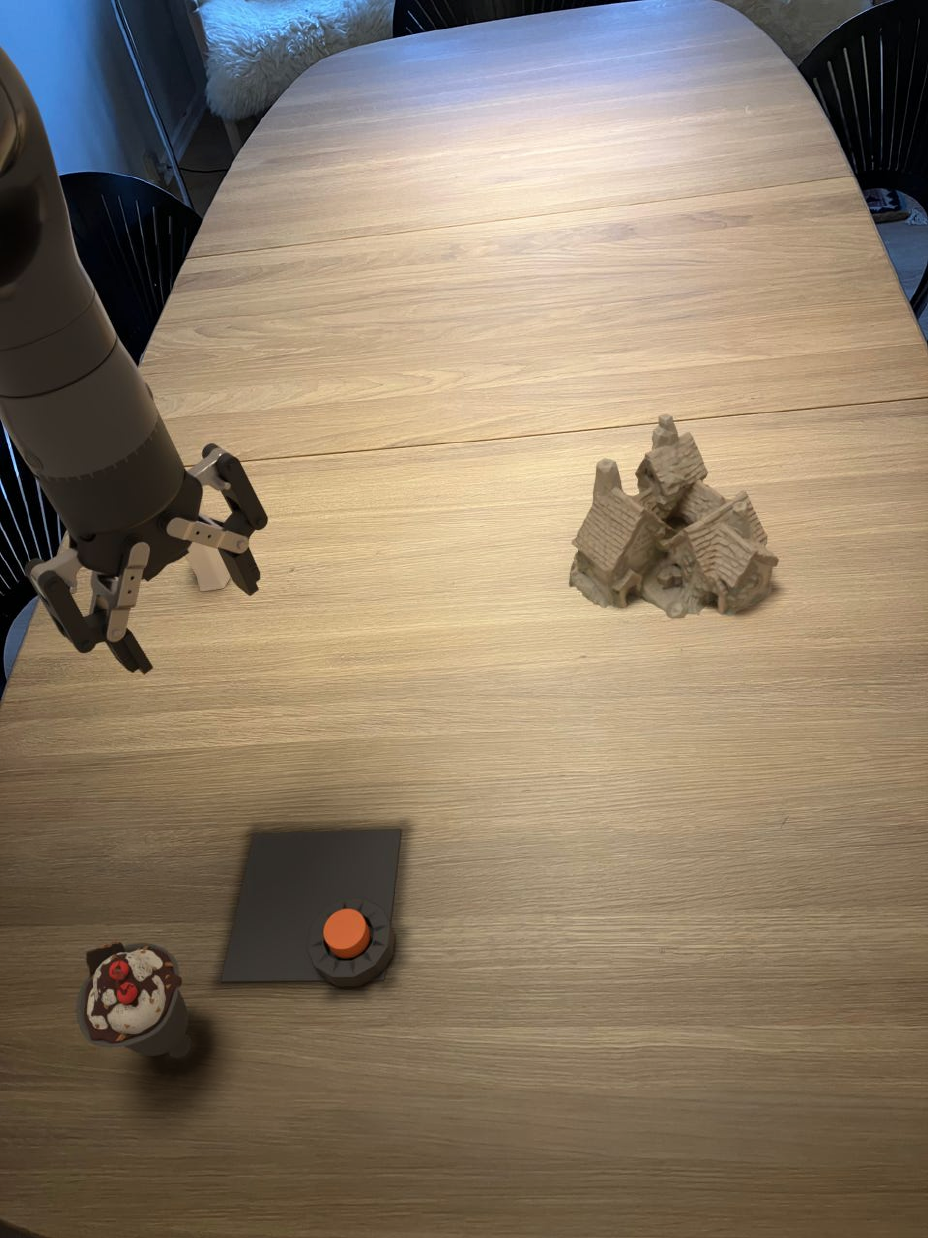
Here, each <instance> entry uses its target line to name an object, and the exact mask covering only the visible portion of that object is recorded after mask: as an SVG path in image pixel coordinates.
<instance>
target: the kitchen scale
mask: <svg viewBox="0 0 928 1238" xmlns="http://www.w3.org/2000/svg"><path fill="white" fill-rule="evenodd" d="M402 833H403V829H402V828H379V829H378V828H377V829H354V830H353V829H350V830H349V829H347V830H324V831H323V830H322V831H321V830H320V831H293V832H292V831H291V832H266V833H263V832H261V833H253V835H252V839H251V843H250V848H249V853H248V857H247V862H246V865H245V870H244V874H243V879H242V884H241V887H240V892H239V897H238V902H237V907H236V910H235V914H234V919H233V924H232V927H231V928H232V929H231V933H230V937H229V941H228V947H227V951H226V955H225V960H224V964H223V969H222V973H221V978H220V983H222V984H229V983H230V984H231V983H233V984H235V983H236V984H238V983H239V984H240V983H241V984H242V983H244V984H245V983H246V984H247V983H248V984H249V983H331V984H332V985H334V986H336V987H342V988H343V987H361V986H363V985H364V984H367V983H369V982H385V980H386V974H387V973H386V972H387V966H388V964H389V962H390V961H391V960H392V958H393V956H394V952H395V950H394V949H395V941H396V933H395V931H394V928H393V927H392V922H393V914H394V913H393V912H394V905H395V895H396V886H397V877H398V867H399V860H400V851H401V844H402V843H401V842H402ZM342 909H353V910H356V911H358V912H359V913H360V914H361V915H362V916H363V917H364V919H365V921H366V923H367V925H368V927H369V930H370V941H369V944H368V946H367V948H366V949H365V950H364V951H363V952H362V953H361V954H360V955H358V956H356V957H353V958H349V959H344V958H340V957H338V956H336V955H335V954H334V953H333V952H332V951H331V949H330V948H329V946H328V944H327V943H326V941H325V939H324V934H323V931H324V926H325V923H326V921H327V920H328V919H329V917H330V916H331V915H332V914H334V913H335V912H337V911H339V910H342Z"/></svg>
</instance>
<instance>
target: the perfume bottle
mask: <svg viewBox="0 0 928 1238" xmlns="http://www.w3.org/2000/svg"><path fill="white" fill-rule="evenodd" d="M199 512H200V513H202V514H204V515H207V516H209V514H208V511H207V508H206V505H205V502H204V500H203V499H202V501H201V506H200V511H199ZM188 551H189V553H188V554H187V555H185V556H184V558H185V559H186V561H187V562H188V564H189V566H190V568H191V570H192V571H193V572H194V574H195V576H196V579H197V584H198V588H199V592H208V591H215V590H221V589H224V588H226V586H227V584H228V582H229V581H230V579H232V578H231V576H230V574H229V572H228V570H227V568H226V566H225V564H224V561H223V559H222V557H221V555H220V553H219V551H218V549H215V548H212V547H209V546H205V545H202V544H199V543H195V542H192V544H191V545H190V547H189V548H188Z"/></svg>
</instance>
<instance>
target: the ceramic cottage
mask: <svg viewBox="0 0 928 1238" xmlns="http://www.w3.org/2000/svg"><path fill="white" fill-rule="evenodd" d="M657 419H658V425H657V426H655V428H653V430H652V436H651V441H652V442H651V443H652V446H651V450H649V451H646V452H645V453H644V458H643V459H642V460H641V462H640V463H639V465H638V467H637V469H636V471H635V473H634V475H635V477H636V479H637V485H636V486H637V489H638V493H637V494H635V495H630V494H627V492H625V491H624V489H623V487H622V479H621V475H620V471H619V467H618V464H617V461H615V460H613V459H610V458H602V459H601V460H599V461H598V462H596V466H595V478H594V483H593V489H592V502H591V506H590V508H589V510H588V512H587V514H586V516H585V518H584V519H583V521H582V524H581V526H580V527H579V528H578V530H577V533H576V537H575V538H574V539H571V545H572V546H573V547H575V548H577V551H576V552H575V553H574V556H573V561H572V564H571V567H570V572H569V578H568V579H569V580H568V586H569V587H570V588H576V590H578V591H579V592H580V593H581V596H582V597H584V598H585V599H587V600H588V601H590V602H591V603H592V604H593V605H595V606H599V608H602V609H606V608H608V607H610V606H611V607H612V608H617V609H618V608H619V609H626V607H627V606H628V603H629V602H631V601H632V600H633V599H634V597H635V596H636V597H637V598H641V599H642V600H644V601H645V602H647V603H648V604H651V605H653V606H655V607H656V608H658V609H660V610H661V611H664V613H665V614H666V616H667V618H669V619H673V620H674V619H675V620H677V619H678V620H679V619H684V618H686V616H687V615H696V616H701V614H700V613H701V612H702V610H703V609H704V608H705V607H706V606H707V605H708V604H709V603H710V602H713V601H715V602H716V604H717V607H716V611H717V613H718V614H720V617H722V616H724V615H725V616H727V617H731V616H735V615H736V613H737V612H738V611H743V609H747V608H751V606H752V605H753V604H756V603H758V602H760V601H761V600H764V598H767V597H768V596H769V595H770V594H771V592H772V590H773V589H772V588H773V587H772V585H771V583H770V581H771V578H772V575H773V568H775V567H778V564H779V561H780V558H778V556H777V555H775V554H774V552H772V551H771V550H769V549H768V548H767V547H766V545H767V544H768V534H767V533H766V531H765V529H764V527H763V525H762V522H761V521H760V519H759V517H758V515H757V512H756V510H755V509H754V506H753V503H752V501H751V499H750V496H749V495H748V493H747V491H746V490H740V491H739V492H738V493H737V494H736V495H735V496H734V497H732V498H729V499H728V498H726V497H724V496H723V495H722V494H721V493H719V492H718V491H717V490H716V489H714V488H712V487H711V486H710V485H709V484H705V483H704V480H705V479H706V478H707V476H708V474H709V471H708V469H707V468H706V467H707V466H706V465H705V462H704V459H703V456H702V454H701V452H700V450H699V447H698V445H697V444H696V441H695V438H694V436H693V434H692V433H691V432H690V431H686V432H684V433H683V434H681V435H680V436H679V432H678V430H677V429H678V428H677V427H676V424H675V422H674V418H673V415H671V414H669V413H661V414H659V415H658V418H657Z"/></svg>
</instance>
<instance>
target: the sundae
mask: <svg viewBox="0 0 928 1238" xmlns="http://www.w3.org/2000/svg"><path fill="white" fill-rule="evenodd" d="M84 956H85V962H86V965H87V969H88V973H89V975H88V977H87V978H86V979H85V981H84V982H83V984H82V986H81V988H80V989H79V992H78V995H77V999H76V1006H75V1014H76V1015H75V1016H76V1019H77V1023H78V1026H79V1030H80V1031H81V1033H82V1034H83V1037H84V1038H85V1039H86V1040H88V1042H89V1043H91V1044H92V1045H94V1046H98V1047H100V1048H107V1049H108V1048H109V1049H111V1048H121V1047H125V1048H127V1049H128V1050H131V1051H132V1052H134V1053H137V1054H141V1055H144V1056H148V1057H156V1056H161V1055H164V1054H166V1053H168V1055H169V1057H171V1058H174V1059H180V1058H183V1057H185V1056H186V1055H188V1053H190V1051H191V1050H190V1049H191V1046H192V1039H191V1037H190V1035H189V1034H186V1032H187V1030H188V1026H189V1013H188V1009H187V1006H186V1002H185V999H184V997H183V995H182V993H181V991H180V989H179V988H181V986H182V984H183V979H182V977H181V975H180V969H179V965H178V962H177V959H176V958H175V956H174V955H173V954H172V953H170V951H168V950H167V949H165V948H164V947H162V946H159V945H156V944H153V943H149V942H135V943H132V944H127V945H124V944H123V943H122V942H121V941H120V940H115V941H113V942H110V943H105V944H103V945H101V946H98V947H96V948H94V949H90V950H87V951H86V953H85V954H84Z"/></svg>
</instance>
